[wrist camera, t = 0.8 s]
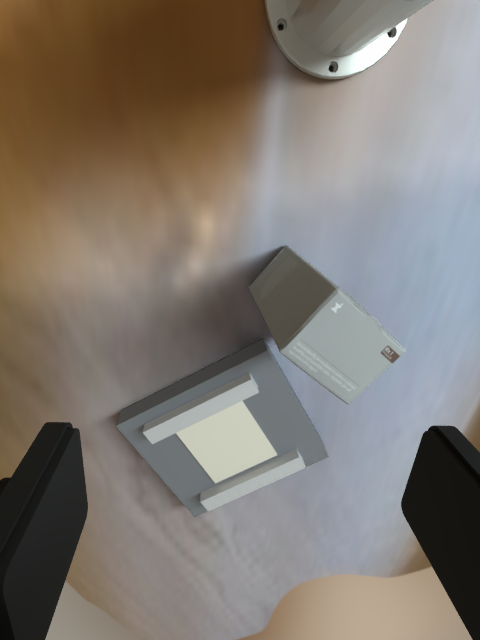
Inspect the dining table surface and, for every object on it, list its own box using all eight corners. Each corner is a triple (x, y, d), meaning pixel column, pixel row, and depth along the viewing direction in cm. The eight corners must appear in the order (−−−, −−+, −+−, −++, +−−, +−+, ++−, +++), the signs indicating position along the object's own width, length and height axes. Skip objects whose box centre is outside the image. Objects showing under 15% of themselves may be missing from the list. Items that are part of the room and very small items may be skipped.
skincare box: (246, 286, 42) (265, 356, 27) (290, 237, 40) (337, 283, 25) (299, 330, 44) (343, 414, 30) (343, 286, 43) (413, 353, 28)
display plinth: (263, 338, 44) (269, 356, 40) (322, 440, 51) (332, 465, 47) (121, 410, 47) (112, 434, 43) (195, 498, 54) (194, 526, 50)
